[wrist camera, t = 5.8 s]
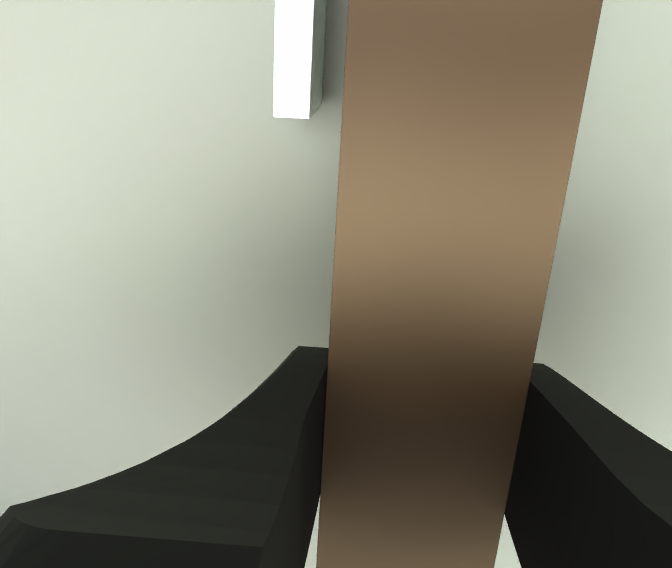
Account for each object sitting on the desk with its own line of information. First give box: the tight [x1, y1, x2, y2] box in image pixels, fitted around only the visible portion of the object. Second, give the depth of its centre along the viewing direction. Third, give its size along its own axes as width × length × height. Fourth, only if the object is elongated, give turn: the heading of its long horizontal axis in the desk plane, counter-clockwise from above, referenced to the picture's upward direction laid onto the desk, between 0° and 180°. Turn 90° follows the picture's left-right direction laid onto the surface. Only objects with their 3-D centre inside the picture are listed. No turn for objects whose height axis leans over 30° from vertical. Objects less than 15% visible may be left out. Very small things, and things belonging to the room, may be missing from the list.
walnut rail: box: [316, 0, 603, 568], centre depth 13 cm, size 16×3×6 cm, turn 177°
